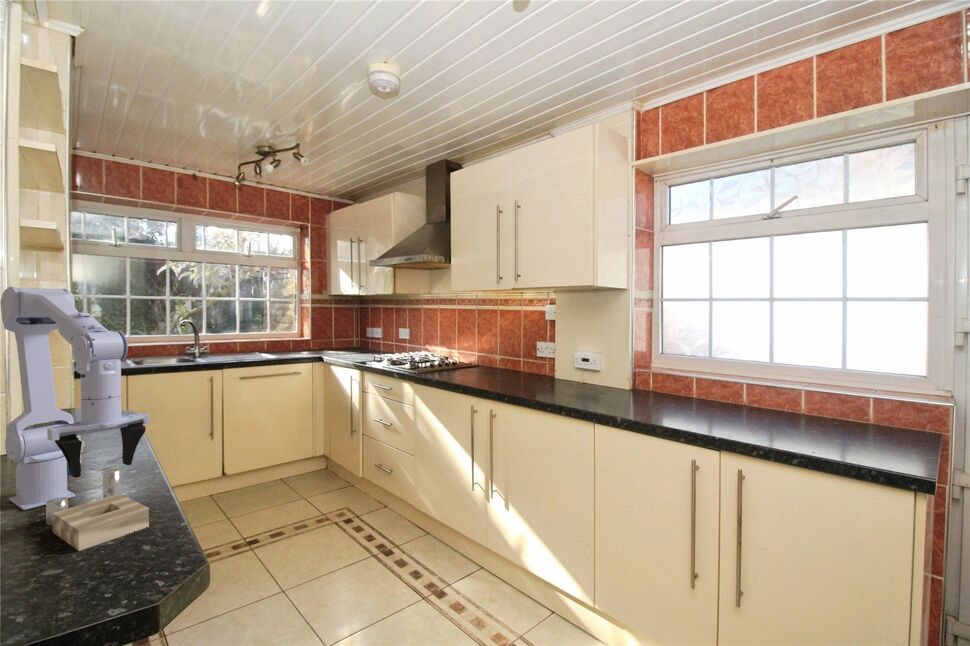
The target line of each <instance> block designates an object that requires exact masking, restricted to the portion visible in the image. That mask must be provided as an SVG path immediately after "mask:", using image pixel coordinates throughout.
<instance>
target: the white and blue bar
mask: <svg viewBox="0 0 970 646" xmlns="http://www.w3.org/2000/svg"><path fill="white" fill-rule="evenodd" d="M78 440H80V441H82V445H81V453H80V466H81V472H82V471H83V470H82V469H83V468H82V467H83V466H84V457H82V452H83V453H84V447H85V446H86V442H85V440H82V435H78ZM69 475H71V471H70V468H69V465H68V462H67V477H70V476H69Z"/></svg>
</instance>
